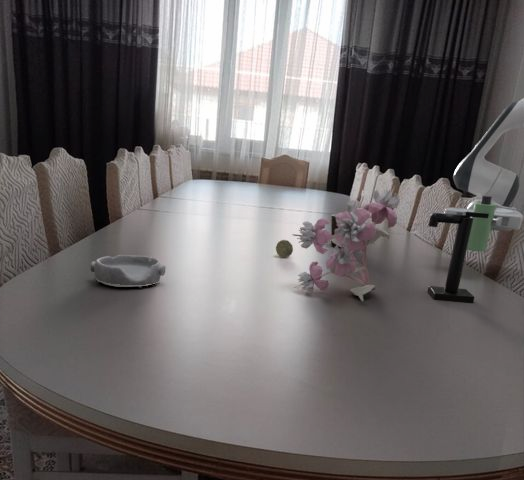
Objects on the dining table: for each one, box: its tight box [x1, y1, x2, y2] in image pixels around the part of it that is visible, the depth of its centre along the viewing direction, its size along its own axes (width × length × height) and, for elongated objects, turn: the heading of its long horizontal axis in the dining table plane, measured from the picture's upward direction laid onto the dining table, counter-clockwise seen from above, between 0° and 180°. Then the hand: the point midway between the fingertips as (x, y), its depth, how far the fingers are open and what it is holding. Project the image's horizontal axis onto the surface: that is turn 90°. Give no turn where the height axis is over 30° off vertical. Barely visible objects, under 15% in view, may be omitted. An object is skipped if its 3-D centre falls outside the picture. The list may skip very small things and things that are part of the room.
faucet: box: [427, 211, 489, 304], centre depth 119 cm, size 12×7×20 cm, turn 85°
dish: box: [90, 254, 167, 289], centre depth 114 cm, size 14×14×5 cm
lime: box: [275, 239, 294, 259], centre depth 152 cm, size 4×5×5 cm
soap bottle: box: [467, 196, 496, 253], centre depth 138 cm, size 5×5×14 cm
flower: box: [291, 184, 401, 302], centre depth 115 cm, size 20×22×25 cm
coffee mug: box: [330, 213, 366, 249], centre depth 174 cm, size 12×9×10 cm
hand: (482, 221), depth 137 cm, fingers closed on soap bottle, 5 cm apart
